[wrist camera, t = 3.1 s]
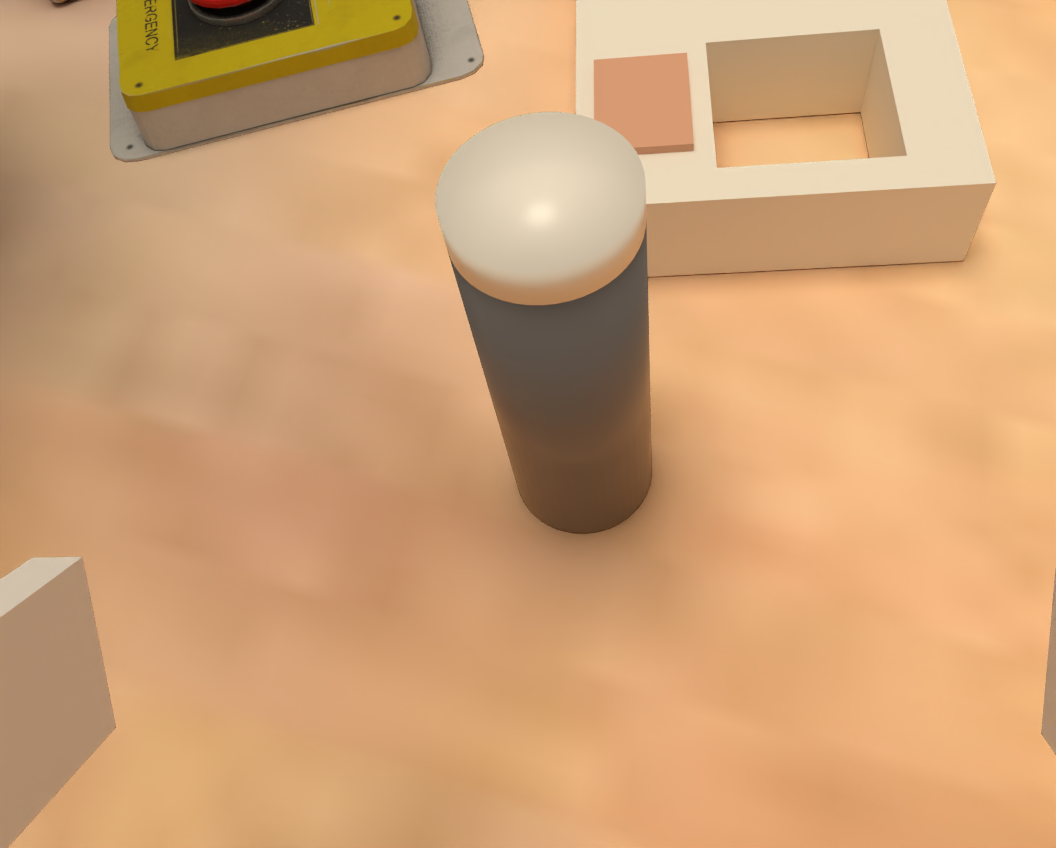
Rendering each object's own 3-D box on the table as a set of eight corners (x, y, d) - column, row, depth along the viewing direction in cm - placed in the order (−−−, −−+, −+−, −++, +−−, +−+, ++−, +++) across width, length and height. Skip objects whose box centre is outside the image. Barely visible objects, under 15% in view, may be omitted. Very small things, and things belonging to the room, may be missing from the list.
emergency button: (62, -67, 39) (427, -159, 39) (115, 25, 43) (448, -59, 43) (57, 90, 34) (472, -16, 34) (117, 177, 38) (491, 82, 38)
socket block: (583, 280, 32) (574, 201, 29) (583, -34, 40) (576, -124, 37) (963, 260, 31) (999, 175, 28) (887, -61, 39) (907, -157, 35)
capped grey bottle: (514, 534, 28) (427, 278, 18) (518, 414, 30) (442, 118, 20) (654, 532, 28) (648, 266, 17) (649, 409, 30) (642, 104, 19)
